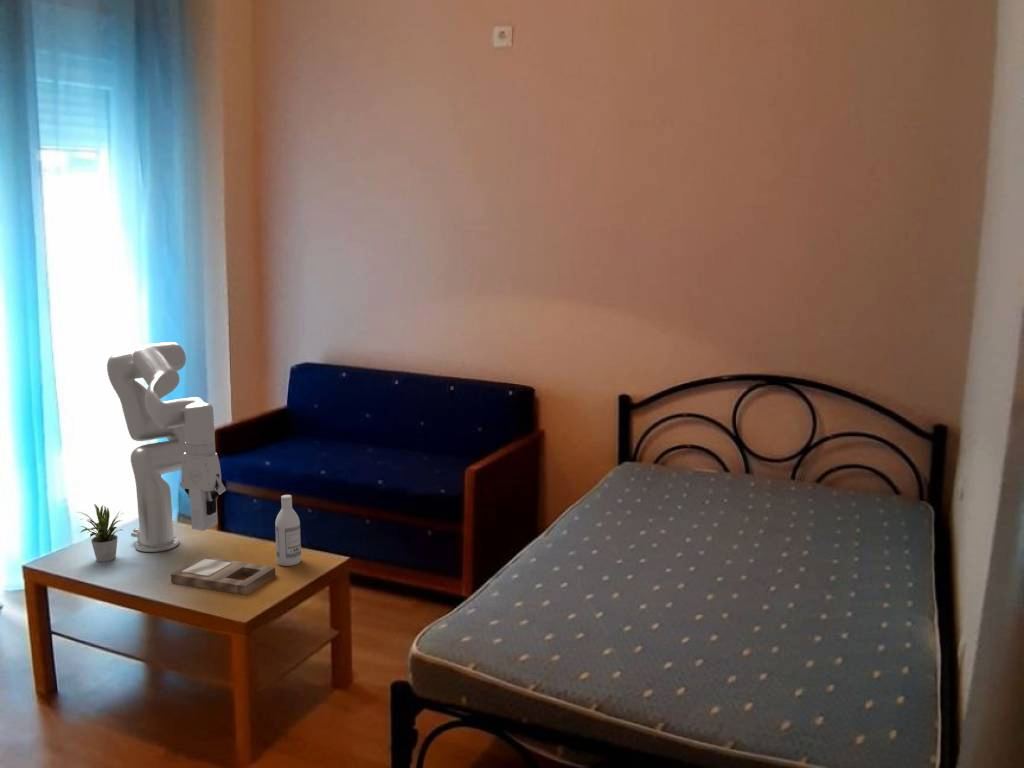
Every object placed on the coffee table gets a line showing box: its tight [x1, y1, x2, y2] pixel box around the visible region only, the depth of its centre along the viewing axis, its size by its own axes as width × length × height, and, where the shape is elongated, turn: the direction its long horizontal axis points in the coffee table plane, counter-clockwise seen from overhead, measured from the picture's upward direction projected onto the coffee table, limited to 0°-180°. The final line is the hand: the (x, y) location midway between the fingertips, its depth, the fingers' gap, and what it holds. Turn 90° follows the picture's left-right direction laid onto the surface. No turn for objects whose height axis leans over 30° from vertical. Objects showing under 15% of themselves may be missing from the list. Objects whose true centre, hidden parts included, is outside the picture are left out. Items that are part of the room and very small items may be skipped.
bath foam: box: [274, 494, 302, 567], centre depth 267 cm, size 7×7×20 cm
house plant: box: [77, 503, 124, 563], centre depth 270 cm, size 14×14×16 cm
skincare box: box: [189, 488, 219, 532], centre depth 255 cm, size 6×4×12 cm
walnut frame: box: [170, 555, 277, 596], centre depth 256 cm, size 24×14×3 cm, turn 71°
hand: (203, 511), depth 255 cm, fingers closed on skincare box, 4 cm apart
